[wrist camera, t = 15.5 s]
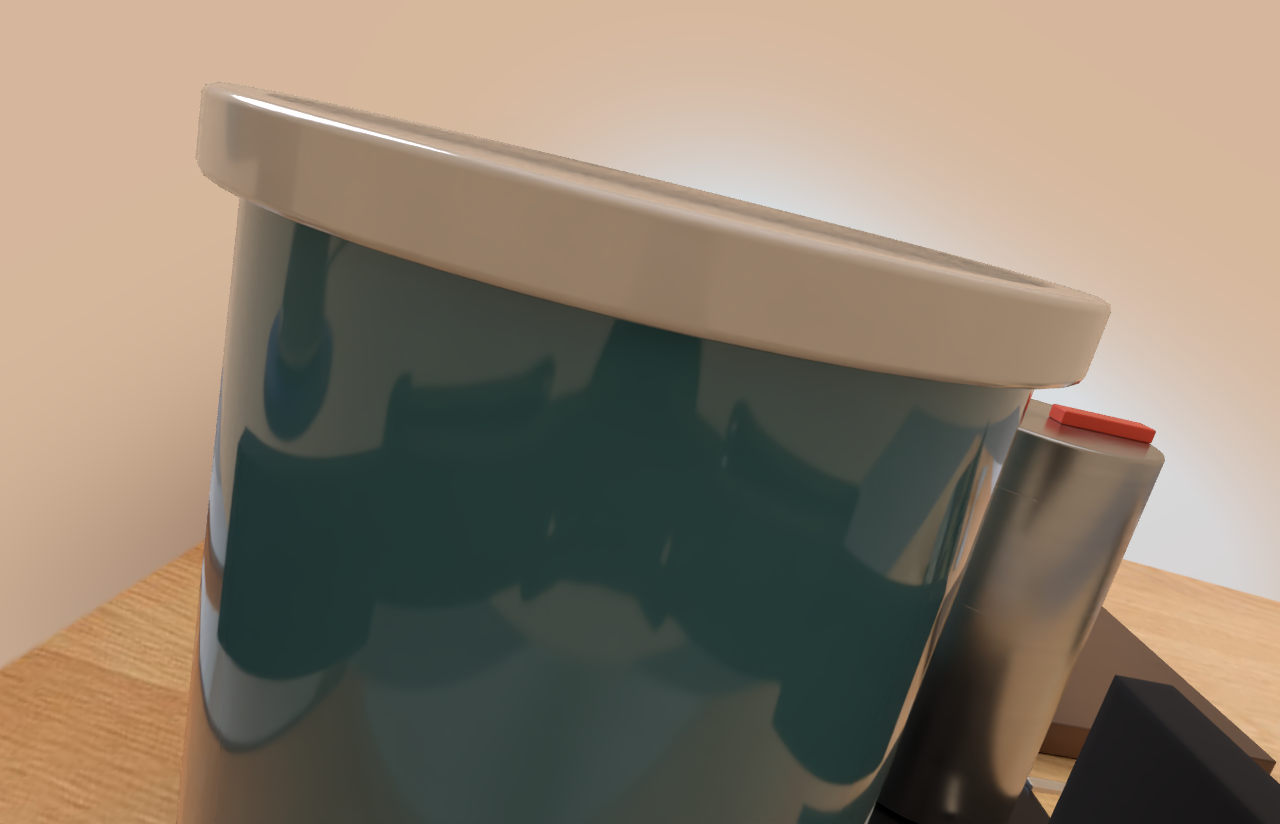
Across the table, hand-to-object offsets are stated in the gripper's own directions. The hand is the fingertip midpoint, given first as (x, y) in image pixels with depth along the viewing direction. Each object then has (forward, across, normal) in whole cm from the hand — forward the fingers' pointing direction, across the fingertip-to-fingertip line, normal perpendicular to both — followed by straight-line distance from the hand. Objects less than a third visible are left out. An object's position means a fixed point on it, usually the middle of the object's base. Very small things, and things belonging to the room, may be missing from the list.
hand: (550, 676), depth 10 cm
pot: (-1, 0, -6) cm, 7 cm away
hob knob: (+9, +10, -6) cm, 15 cm away
